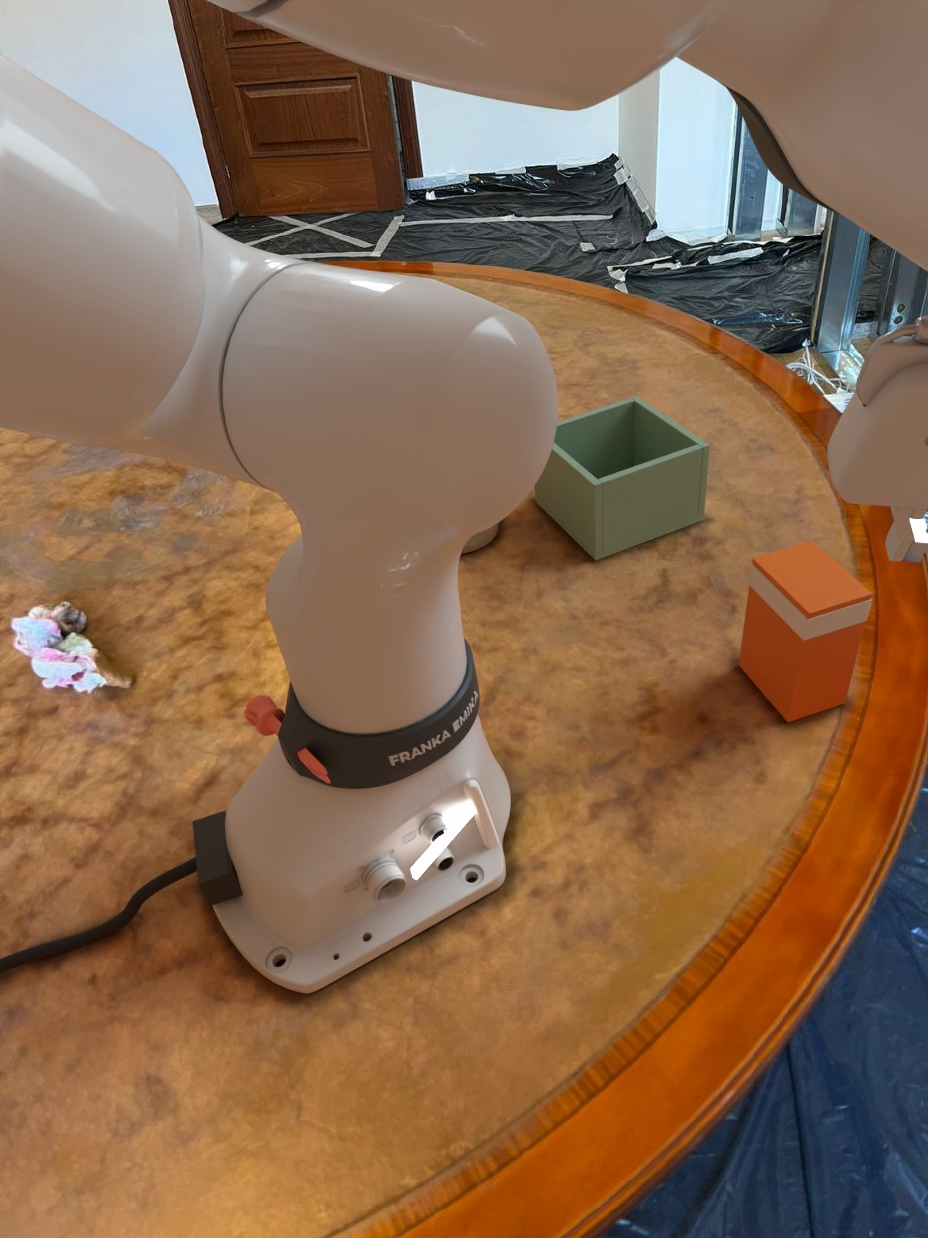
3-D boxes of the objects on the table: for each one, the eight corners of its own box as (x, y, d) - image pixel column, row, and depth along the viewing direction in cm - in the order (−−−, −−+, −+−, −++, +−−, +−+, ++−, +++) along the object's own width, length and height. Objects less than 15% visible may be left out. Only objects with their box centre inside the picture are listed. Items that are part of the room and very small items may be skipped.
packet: (787, 723, 65) (808, 614, 58) (737, 664, 70) (751, 557, 63) (846, 704, 66) (874, 593, 59) (792, 647, 71) (811, 539, 64)
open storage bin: (595, 560, 83) (594, 485, 78) (535, 501, 92) (530, 430, 87) (703, 520, 86) (710, 444, 81) (635, 466, 95) (636, 395, 90)
